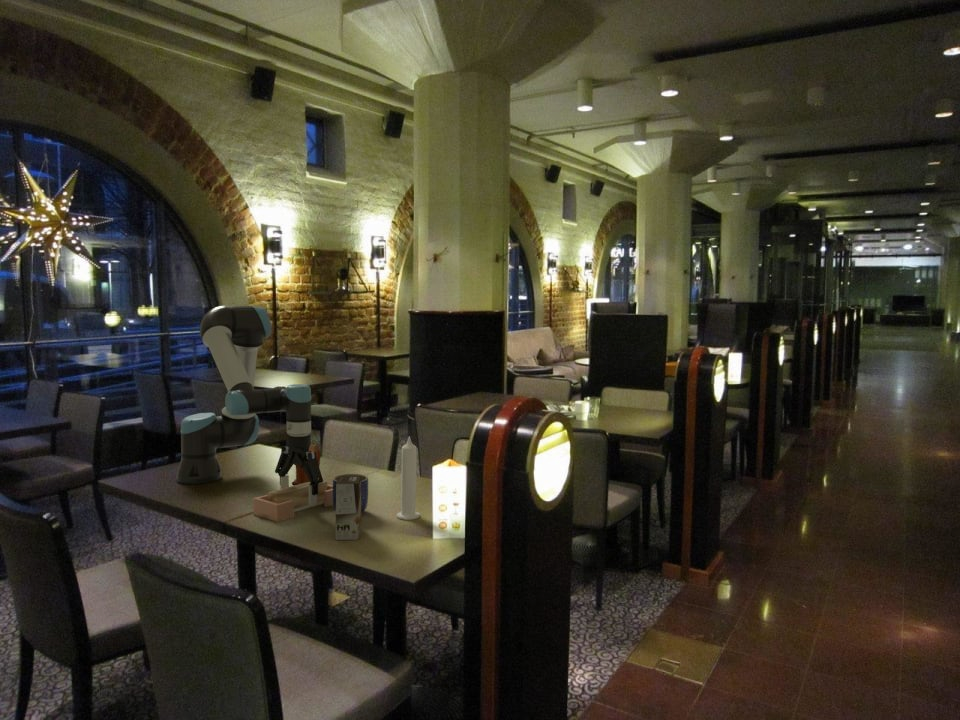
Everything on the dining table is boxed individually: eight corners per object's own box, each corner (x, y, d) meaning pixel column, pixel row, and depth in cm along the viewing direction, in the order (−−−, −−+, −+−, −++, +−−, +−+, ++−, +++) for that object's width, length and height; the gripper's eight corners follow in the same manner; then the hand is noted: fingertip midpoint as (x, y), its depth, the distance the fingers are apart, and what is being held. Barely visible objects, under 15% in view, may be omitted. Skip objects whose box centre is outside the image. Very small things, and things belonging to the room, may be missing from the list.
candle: (410, 521, 210) (411, 439, 207) (392, 517, 213) (392, 436, 211) (424, 515, 216) (425, 436, 213) (406, 511, 219) (407, 433, 217)
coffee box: (358, 540, 193) (358, 483, 191) (335, 540, 192) (335, 483, 191) (361, 529, 202) (361, 474, 201) (339, 529, 201) (339, 474, 200)
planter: (352, 520, 209) (353, 484, 208) (325, 514, 214) (325, 479, 214) (375, 511, 219) (375, 476, 218) (348, 505, 224) (348, 471, 223)
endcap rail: (253, 514, 213) (253, 498, 213) (317, 496, 234) (317, 481, 233) (277, 521, 207) (277, 505, 206) (341, 502, 227) (341, 487, 227)
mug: (310, 496, 233) (310, 452, 232) (288, 494, 235) (288, 450, 234) (328, 485, 248) (328, 443, 246) (307, 483, 249) (307, 442, 248)
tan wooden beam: (268, 511, 213) (268, 492, 213) (318, 497, 229) (318, 479, 229) (276, 514, 211) (276, 494, 210) (327, 499, 227) (327, 481, 226)
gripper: (263, 430, 222) (263, 495, 224) (316, 441, 208) (315, 510, 210) (282, 427, 228) (282, 490, 230) (335, 437, 214) (334, 505, 216)
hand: (298, 500), depth 220 cm, fingers open, 13 cm apart
